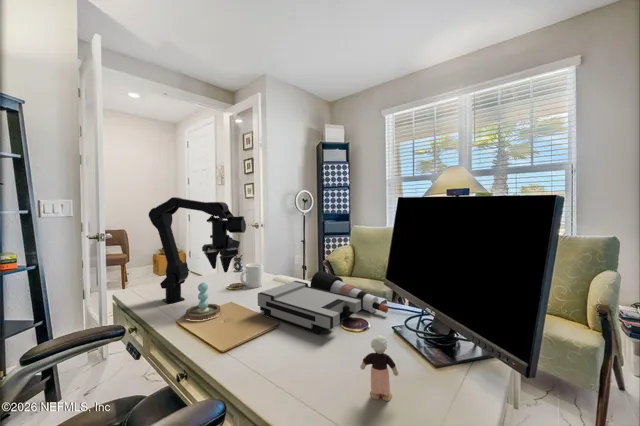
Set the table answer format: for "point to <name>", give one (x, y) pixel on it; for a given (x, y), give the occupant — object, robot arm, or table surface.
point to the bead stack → (203, 299)
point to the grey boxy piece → (307, 306)
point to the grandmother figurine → (379, 369)
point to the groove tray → (193, 314)
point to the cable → (345, 290)
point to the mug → (253, 275)
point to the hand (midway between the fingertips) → (219, 270)
